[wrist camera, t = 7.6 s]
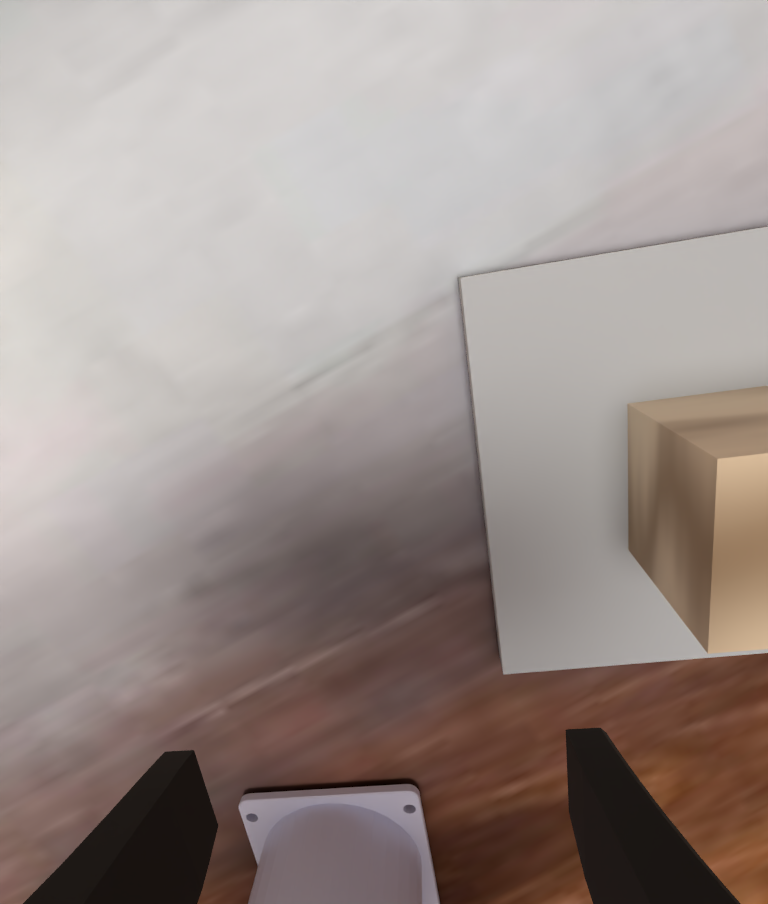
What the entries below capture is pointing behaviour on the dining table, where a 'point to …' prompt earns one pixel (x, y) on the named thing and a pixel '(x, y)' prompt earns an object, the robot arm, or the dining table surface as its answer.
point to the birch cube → (704, 511)
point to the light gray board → (595, 430)
